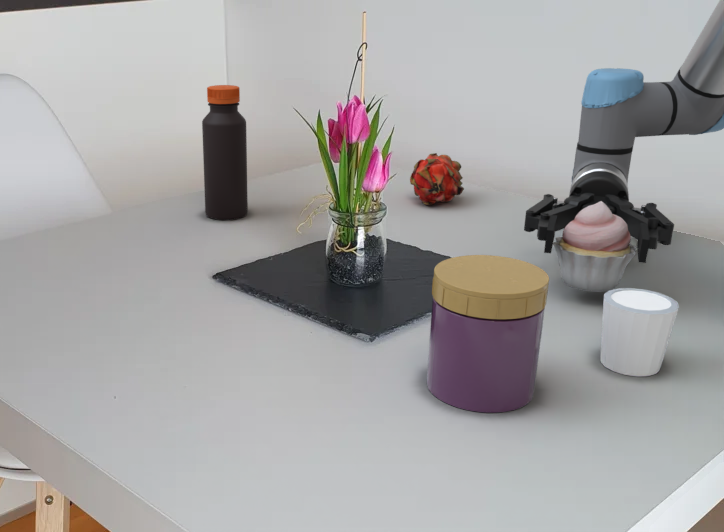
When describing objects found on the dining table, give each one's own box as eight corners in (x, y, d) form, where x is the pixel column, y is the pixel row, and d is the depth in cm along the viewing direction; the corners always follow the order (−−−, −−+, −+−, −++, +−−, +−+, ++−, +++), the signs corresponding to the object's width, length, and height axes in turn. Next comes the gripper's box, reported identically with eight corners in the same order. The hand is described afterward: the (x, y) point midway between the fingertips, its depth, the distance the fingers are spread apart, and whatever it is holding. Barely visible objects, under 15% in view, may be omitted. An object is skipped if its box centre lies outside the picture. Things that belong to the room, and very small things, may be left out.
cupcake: (642, 281, 100) (655, 199, 96) (615, 304, 94) (629, 217, 90) (565, 264, 106) (576, 187, 102) (535, 285, 99) (545, 203, 95)
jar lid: (549, 285, 79) (552, 261, 78) (541, 326, 71) (545, 300, 70) (442, 272, 83) (444, 249, 82) (422, 310, 74) (424, 285, 73)
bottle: (196, 215, 133) (191, 87, 126) (224, 206, 138) (220, 82, 131) (229, 223, 130) (225, 91, 122) (256, 213, 135) (254, 86, 127)
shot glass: (670, 358, 86) (683, 294, 83) (661, 385, 80) (674, 318, 77) (600, 343, 89) (610, 282, 86) (587, 369, 83) (597, 304, 81)
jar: (537, 372, 83) (551, 267, 79) (528, 420, 74) (543, 306, 70) (436, 357, 86) (444, 255, 82) (417, 401, 77) (424, 291, 73)
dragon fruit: (440, 199, 147) (436, 229, 137) (402, 171, 146) (396, 199, 136) (472, 164, 143) (471, 192, 133) (433, 134, 142) (429, 160, 132)
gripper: (682, 232, 111) (697, 289, 91) (511, 216, 118) (492, 266, 99) (693, 176, 108) (710, 223, 89) (517, 164, 115) (498, 205, 96)
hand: (595, 246), depth 94 cm, fingers closed on cupcake, 9 cm apart
